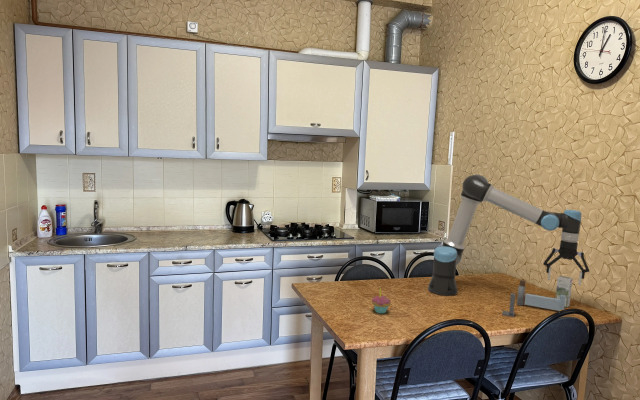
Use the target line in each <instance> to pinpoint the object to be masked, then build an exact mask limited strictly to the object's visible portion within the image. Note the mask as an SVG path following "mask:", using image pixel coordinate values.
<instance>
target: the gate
mask: <svg viewBox="0 0 640 400" xmlns="http://www.w3.org/2000/svg"><path fill="white" fill-rule="evenodd" d="M525 291H526V286H525V287H524V286H520V285H518V288H517V297H516V298H517V299H516V305H517V306H524V305H526V306H531V307H536V308H542V309H547V310H553V311H558V312H559V311H560V310H564V311H565V307H564V305H565V295H560V299H555V298H556V297H548V296H543V295H537V294H530V293H526V292H525Z"/></svg>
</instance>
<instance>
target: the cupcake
mask: <svg viewBox="0 0 640 400" xmlns="http://www.w3.org/2000/svg"><path fill="white" fill-rule="evenodd" d="M371 304H372V305H373V306H374V311H375V313H377V314H386V313H387V310H388V308H389V307H390V306H391V300H390V299H389V298H388V297H387V296H384V295H382V288H381V287H379V295H377V296H374V297H373V298H372V299H371Z"/></svg>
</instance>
